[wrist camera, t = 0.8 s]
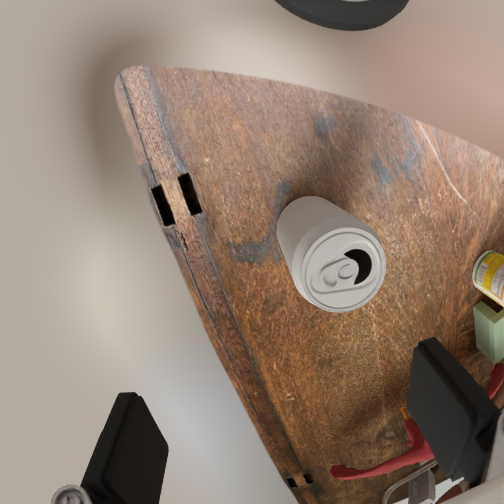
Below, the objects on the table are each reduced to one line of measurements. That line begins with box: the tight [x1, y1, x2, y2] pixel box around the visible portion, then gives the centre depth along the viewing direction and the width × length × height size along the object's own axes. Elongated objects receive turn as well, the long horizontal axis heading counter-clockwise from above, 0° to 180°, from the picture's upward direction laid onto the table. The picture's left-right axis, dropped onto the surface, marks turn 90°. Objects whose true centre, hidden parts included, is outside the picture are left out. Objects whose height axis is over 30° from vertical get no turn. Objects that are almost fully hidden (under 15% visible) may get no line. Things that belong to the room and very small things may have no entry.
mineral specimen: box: [408, 469, 435, 504], centre depth 43 cm, size 7×9×8 cm
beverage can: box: [277, 196, 386, 312], centre depth 25 cm, size 6×6×12 cm
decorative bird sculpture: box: [330, 363, 504, 479], centre depth 35 cm, size 28×9×15 cm
